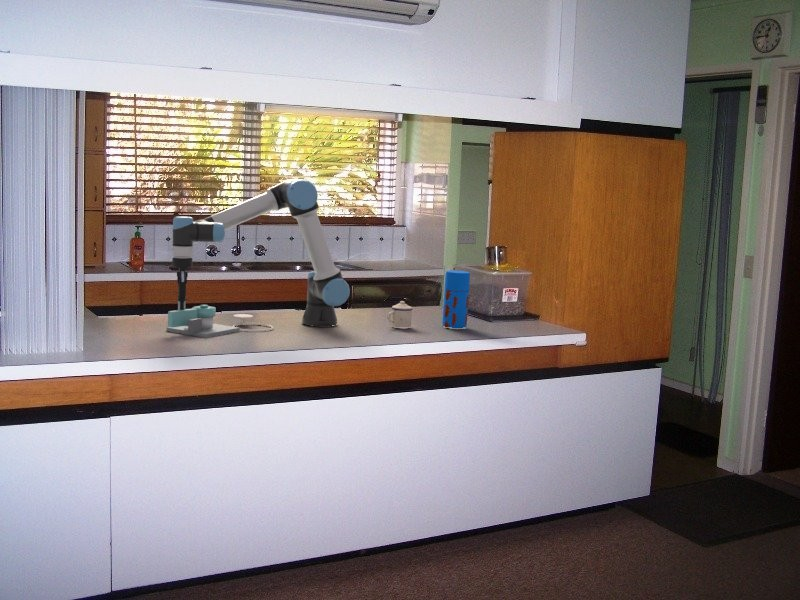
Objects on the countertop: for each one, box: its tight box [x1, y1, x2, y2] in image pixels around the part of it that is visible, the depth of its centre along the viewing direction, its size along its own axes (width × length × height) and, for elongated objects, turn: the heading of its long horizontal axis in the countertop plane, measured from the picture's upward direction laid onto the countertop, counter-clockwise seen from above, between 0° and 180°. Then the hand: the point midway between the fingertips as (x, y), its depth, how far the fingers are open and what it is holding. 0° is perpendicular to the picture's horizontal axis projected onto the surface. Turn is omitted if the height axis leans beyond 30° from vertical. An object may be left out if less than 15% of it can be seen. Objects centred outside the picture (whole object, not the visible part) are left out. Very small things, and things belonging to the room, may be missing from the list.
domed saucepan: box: [167, 304, 217, 327], centre depth 334 cm, size 22×9×7 cm, turn 146°
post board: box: [166, 317, 241, 339], centre depth 338 cm, size 20×23×6 cm
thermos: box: [442, 270, 471, 328], centre depth 380 cm, size 11×11×25 cm
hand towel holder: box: [231, 313, 274, 333], centre depth 353 cm, size 17×4×21 cm
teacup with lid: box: [386, 300, 413, 327], centre depth 373 cm, size 12×9×12 cm
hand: (181, 317), depth 333 cm, fingers closed
